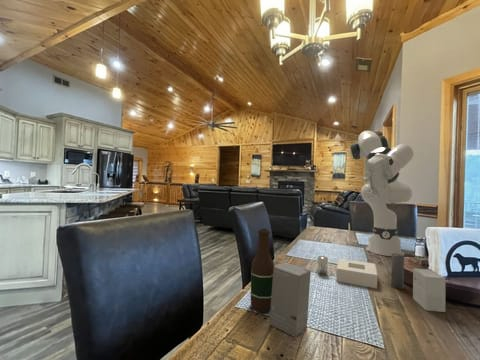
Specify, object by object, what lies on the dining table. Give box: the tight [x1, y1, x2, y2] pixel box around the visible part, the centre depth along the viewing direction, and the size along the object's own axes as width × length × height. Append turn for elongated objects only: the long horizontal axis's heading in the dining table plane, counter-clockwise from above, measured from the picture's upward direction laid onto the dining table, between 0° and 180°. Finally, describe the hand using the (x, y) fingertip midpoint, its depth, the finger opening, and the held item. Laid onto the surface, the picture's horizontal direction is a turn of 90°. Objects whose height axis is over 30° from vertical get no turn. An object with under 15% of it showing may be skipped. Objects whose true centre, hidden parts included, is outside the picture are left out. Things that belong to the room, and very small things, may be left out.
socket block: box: [336, 258, 378, 289], centre depth 101 cm, size 14×14×5 cm
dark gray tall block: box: [390, 253, 405, 290], centre depth 93 cm, size 4×4×12 cm
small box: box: [412, 268, 446, 313], centre depth 79 cm, size 8×6×10 cm
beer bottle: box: [250, 228, 276, 314], centre depth 76 cm, size 8×8×24 cm
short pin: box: [317, 255, 329, 276], centre depth 105 cm, size 4×4×7 cm
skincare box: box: [269, 262, 312, 338], centre depth 67 cm, size 8×7×16 cm
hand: (365, 188), depth 107 cm, fingers open, 8 cm apart
